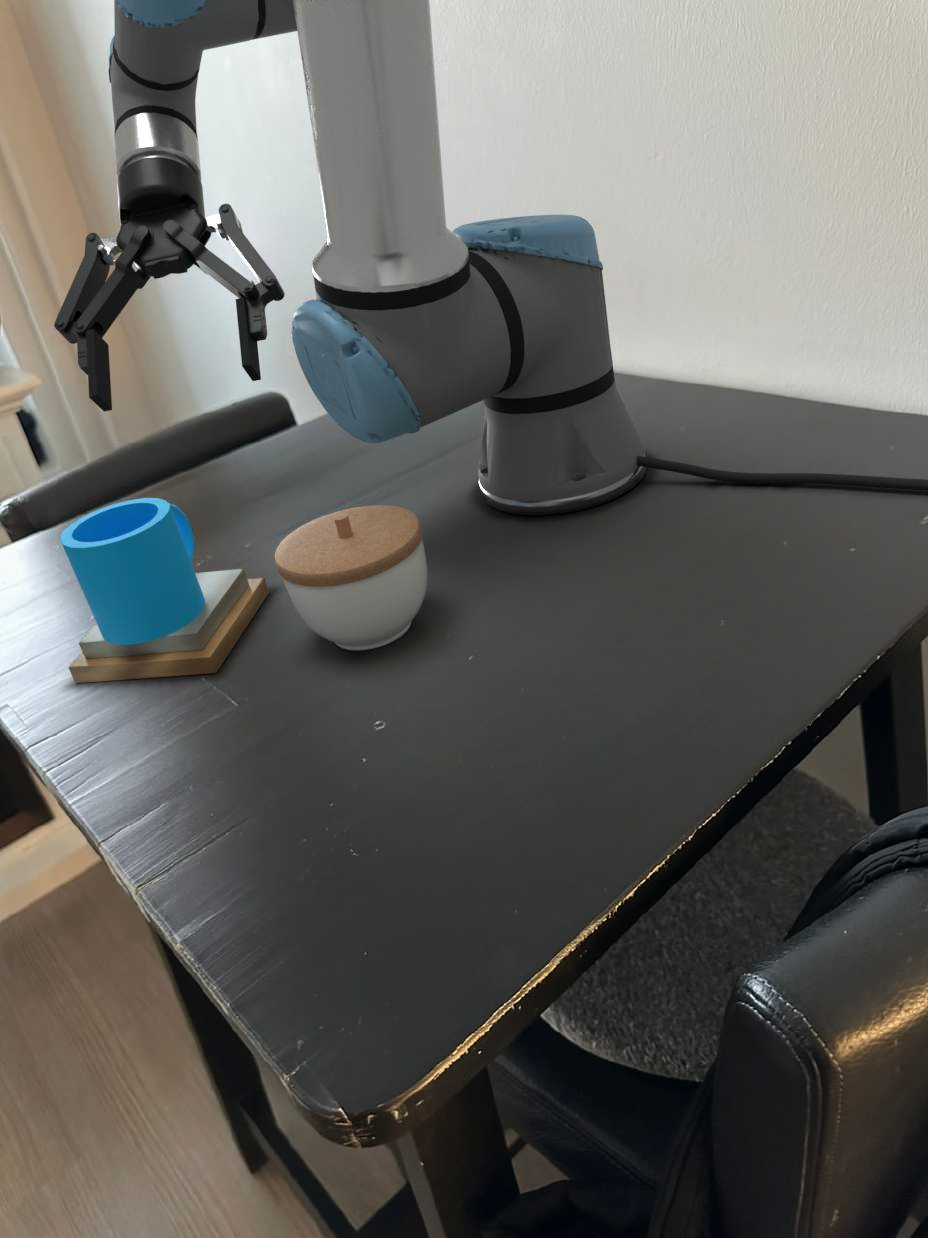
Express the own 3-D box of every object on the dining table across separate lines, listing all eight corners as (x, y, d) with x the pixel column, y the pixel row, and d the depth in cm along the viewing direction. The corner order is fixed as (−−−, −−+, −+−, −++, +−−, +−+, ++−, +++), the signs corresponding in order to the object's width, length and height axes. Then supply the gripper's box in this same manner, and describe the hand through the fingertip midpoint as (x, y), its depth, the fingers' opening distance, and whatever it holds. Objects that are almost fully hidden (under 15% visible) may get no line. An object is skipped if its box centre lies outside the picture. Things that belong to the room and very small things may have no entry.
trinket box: (274, 647, 78) (237, 537, 73) (375, 581, 84) (347, 476, 79) (368, 683, 71) (333, 564, 66) (471, 609, 77) (445, 495, 72)
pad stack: (269, 592, 86) (259, 561, 85) (216, 673, 76) (203, 639, 75) (142, 604, 89) (130, 574, 88) (75, 683, 79) (60, 651, 78)
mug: (171, 644, 75) (132, 545, 71) (80, 645, 78) (37, 550, 74) (244, 564, 85) (213, 473, 81) (161, 568, 87) (126, 480, 83)
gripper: (303, 179, 96) (327, 380, 91) (52, 235, 99) (61, 434, 93) (278, 122, 89) (303, 336, 83) (9, 183, 92) (15, 396, 86)
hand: (175, 388), depth 88 cm, fingers open, 13 cm apart
